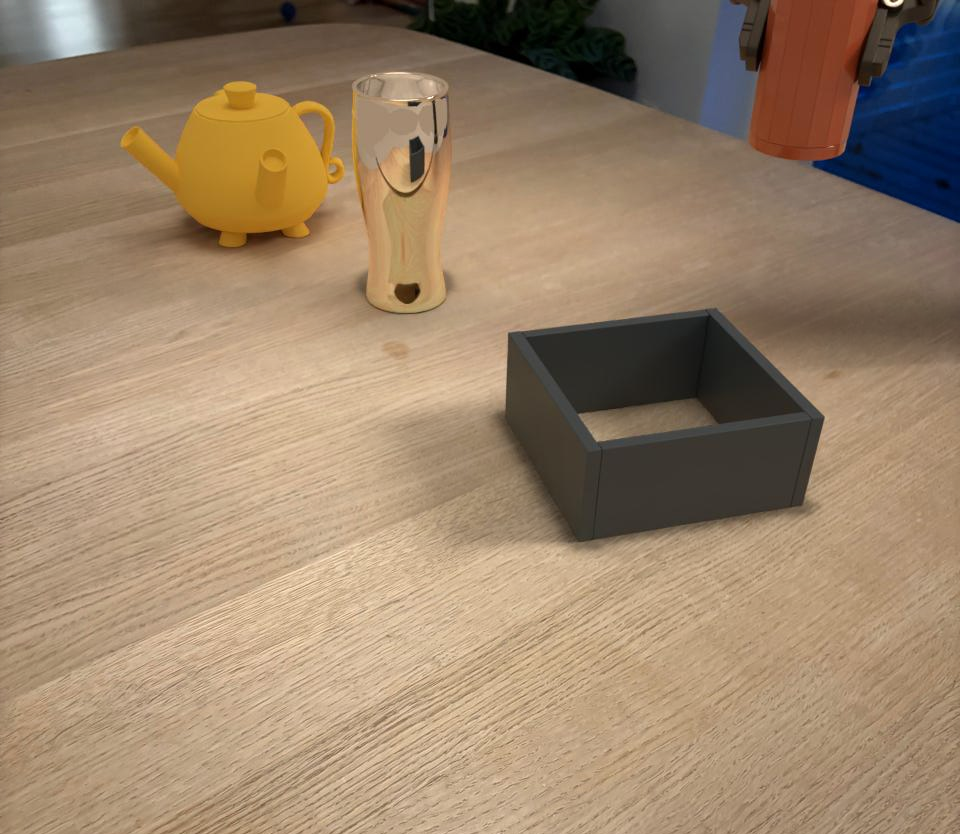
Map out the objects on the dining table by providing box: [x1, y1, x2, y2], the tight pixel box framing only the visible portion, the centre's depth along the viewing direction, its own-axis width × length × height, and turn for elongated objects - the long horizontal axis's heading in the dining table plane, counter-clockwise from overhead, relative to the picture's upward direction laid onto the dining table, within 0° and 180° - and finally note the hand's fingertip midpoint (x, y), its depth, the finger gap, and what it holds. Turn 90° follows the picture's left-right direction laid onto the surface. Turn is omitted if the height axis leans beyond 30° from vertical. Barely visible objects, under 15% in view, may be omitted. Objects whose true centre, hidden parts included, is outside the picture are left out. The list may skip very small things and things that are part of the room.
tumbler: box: [747, 0, 878, 162], centre depth 70 cm, size 6×6×10 cm
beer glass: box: [351, 71, 453, 314], centre depth 81 cm, size 7×7×15 cm
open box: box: [504, 307, 826, 543], centre depth 66 cm, size 14×14×7 cm
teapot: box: [120, 80, 345, 248], centre depth 91 cm, size 14×14×11 cm
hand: (807, 70), depth 69 cm, fingers closed on tumbler, 6 cm apart
